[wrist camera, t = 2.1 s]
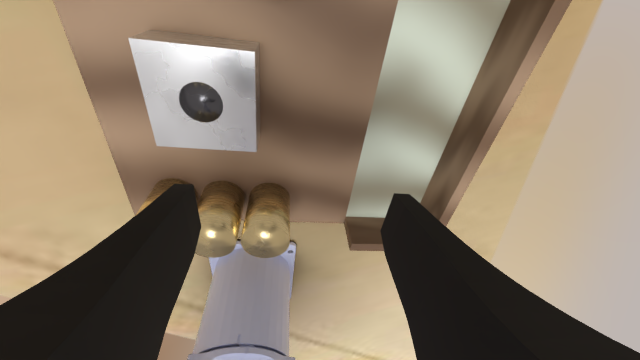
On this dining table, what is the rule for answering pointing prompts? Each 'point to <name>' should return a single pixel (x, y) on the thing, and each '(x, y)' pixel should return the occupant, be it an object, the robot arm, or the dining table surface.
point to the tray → (328, 96)
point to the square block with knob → (200, 89)
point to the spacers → (238, 218)
